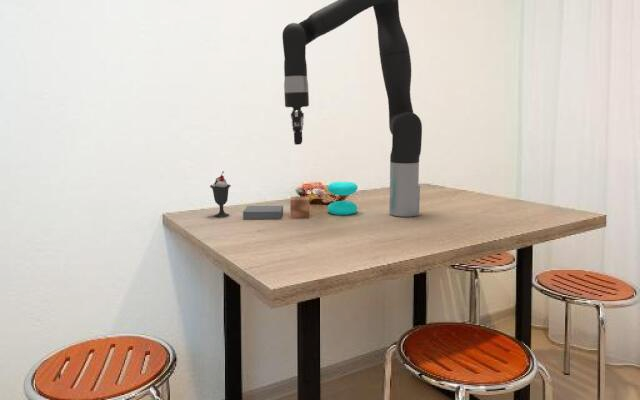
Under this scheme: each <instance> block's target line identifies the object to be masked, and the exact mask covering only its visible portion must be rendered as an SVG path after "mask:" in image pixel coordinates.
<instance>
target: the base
mask: <svg viewBox="0 0 640 400" xmlns="http://www.w3.org/2000/svg"><path fill="white" fill-rule="evenodd" d="M283 216H284V205H246V207H245V208H244V210H243V212H242V220H244V221H246V220H247V221H250V220H252V221H253V220H257V221H260V220H263V221H264V220H268V221H269V220H282V218H283Z"/></svg>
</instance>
